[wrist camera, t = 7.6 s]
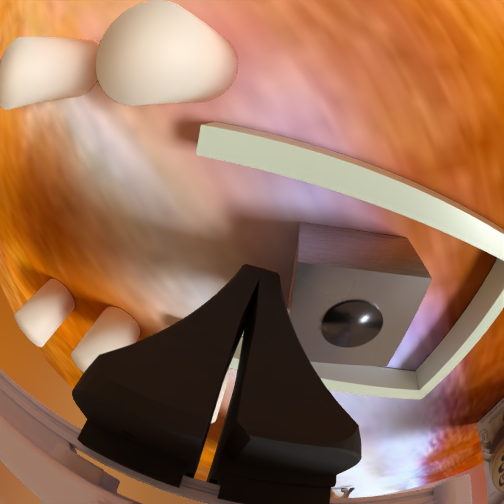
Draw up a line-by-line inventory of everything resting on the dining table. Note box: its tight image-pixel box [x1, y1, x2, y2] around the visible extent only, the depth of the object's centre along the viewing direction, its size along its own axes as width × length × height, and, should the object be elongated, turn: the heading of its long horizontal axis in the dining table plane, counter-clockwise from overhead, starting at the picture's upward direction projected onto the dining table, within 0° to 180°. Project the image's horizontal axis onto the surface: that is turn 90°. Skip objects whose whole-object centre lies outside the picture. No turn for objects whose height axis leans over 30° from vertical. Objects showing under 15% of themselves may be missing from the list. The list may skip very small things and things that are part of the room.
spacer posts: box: [0, 0, 238, 423], centre depth 10 cm, size 17×14×4 cm
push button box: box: [287, 222, 432, 366], centre depth 10 cm, size 4×4×3 cm
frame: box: [196, 122, 504, 400], centre depth 11 cm, size 11×15×2 cm
